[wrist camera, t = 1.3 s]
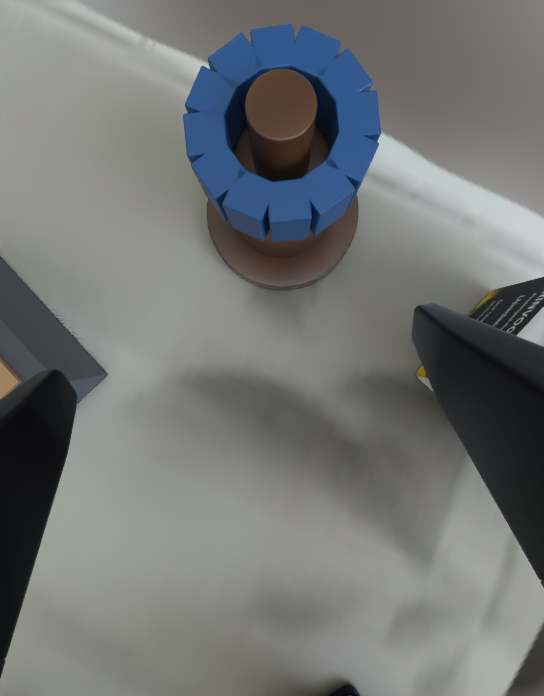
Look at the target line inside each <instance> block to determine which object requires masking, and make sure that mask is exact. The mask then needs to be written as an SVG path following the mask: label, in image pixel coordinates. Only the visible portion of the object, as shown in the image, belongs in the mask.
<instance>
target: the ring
mask: <svg viewBox="0 0 544 696" xmlns="http://www.w3.org/2000/svg"><path fill="white" fill-rule="evenodd" d="M250 33H251V44H252V46H251V44H250V43H249V41H248V40H247V39H246V37H245V36H244V35H243V33H240V34H239V35H238V36H236V37H235V38H234V39H233V40H231V41H230V42H228V43H227V44H226V45H224V46H223V47H222V48H220V49H219V50H218V51H216V52H215V53H214V54H212V55H211V56H210V57H209V58H208V62H209V66H210V69H208V68H206V67H204V66H202V67H201V69H200V71H199V73H198V76H197V78H196V80H195V82H194V85H193V87H192V89H191V91H190V94H189V96H188V98H187V101H186V103H185V107H186V109H187V112H188V114H184V115H183V119H184V129H185V139H186V149H187V156H188V158H189V160H190V162H191V167H192V169H193V171H194V173H195V175H196V177H197V179H198V181H199V183H200V185H201V186H202V188H203V190H204V192H205V194H206V196H207V197H208V198H209V200H210V201H211V203H212V204H213V205H214V207H215V208H216V210H217V211H218V212H219V214H220V215H221V216H222V218H223V219H224V221H225V222H227V221H230V223H231V226H232V227H233V228H235V229H237V230H239V231H242V232H244V233H246V234H248V235H251V236H253V237H255V238H257V239H260V240H262V241H265V239H266V237H267V235H268V232H269V230H270V235H271V241H272V242H280V241H290V240H299V239H306V238H307V237H308V232H309V229H310V231H311V232H312V233H313V235H314V236H316V235H317V234H318V233H320V232H321V231H322V230H324V229H325V228H327V227H328V226H329V225H331V224H332V223H334V222H335V221H336V220H338V219H339V218H340V217H342V216H343V215H344V213H345V211H346V209H347V208H349V207H350V206H351V204H352V202H353V200H354V198H355V196H356V193H357V191H358V189H359V187H360V185H361V183H362V181H363V179H364V177H365V174H366V172H367V170H368V168H369V165H370V163H371V161H372V159H373V157H374V154H375V152H376V150H377V148H378V146H379V143H378V142H377V141H378V138H379V136H380V134H381V128H380V118H379V107H378V97H377V91H370V89H371V86H372V80H371V78H370V77H369V76H368V74H367V73H366V72H365V70H364V69H363V67H362V66H361V65H360V63H359V62H358V61H357V59H356V58H355V56H354V55H353V54H352V52H351V51H350V50H349V49H346V50H345V51H344V52H342V53H341V54H339V51H340V46H341V42H340V41H338V40H336V39H334V38H331V37H329V36H326V35H324V34H322V33H320V32H317V31H315V30H313V29H310V28H308V27H306V26H302V27H301V28H300V30H299V33H298V35H297V37H296V40H295V37H294V27H293V25H292V24H288V25H280V26H273V27H264V28H257V29H251V31H250ZM275 69H289V70H293V71H295V72H298V73H299V74H301V75H302V76H304V77H305V78H306V79H307V80H308V81H309V82H310V84H311V85H312V87H313V89H314V91H315V94H316V98H317V113H316V120H315V124H316V126H317V127H318V128H319V130H320V131H321V132H322V134H323V135H324V137H325V138H326V139H327V143H328V154H329V155H328V157H327V159H326V160H325V161H324V162H323V163H321V164H320V165H319V166H317V167H316V168H314V169H313V170H312V171H310V172H309V173H308V174H306V175H305V176H304V177H302V178H301V179H293V180H284V181H275V182H272V181H269V180H267V179H265V178H262V177H260V176H258V175H256V174H253V173H251V172H249V171H247V170H245V169H244V168H243V166H242V165H241V164H240V162H239V161H238V159H237V158H236V157H235V155H234V150H235V148H236V146H237V144H238V141H239V139H240V137H241V135H242V132H243V130H244V129H245V128H246V127H248V125H247V119H246V113H245V100H246V96H247V93H248V91H249V89H250V87H251V85H252V84H253V83H254V81H255V80H256V79H257V78H258V77H260V76H261V75H263V74H264V73H266V72H268V71H271V70H275Z"/></svg>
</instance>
